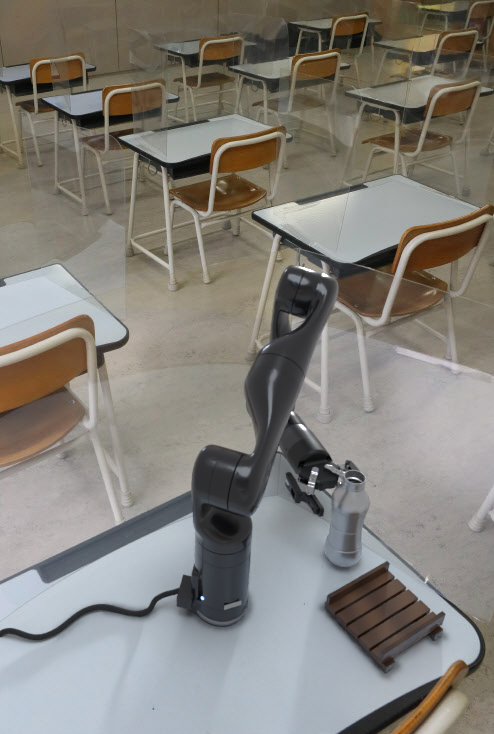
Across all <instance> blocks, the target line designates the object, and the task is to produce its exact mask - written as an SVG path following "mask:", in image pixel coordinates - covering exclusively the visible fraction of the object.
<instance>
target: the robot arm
mask: <svg viewBox="0 0 494 734" xmlns="http://www.w3.org/2000/svg"><path fill="white" fill-rule="evenodd" d="M279 277H280V278H279V279H278V283H277V285H276V288H275V292H274V297H273V302H272V303H273V304H272V311H271V319H270V329H269V330H270V331H269V342H268V343H267V344H265V345H264V346H263V347H261V349H259V351H258V352H257V353H256V355H255V357H254V359H253V360H252V363H251V365H250V367H249V370H248V372H247V374H246V376H245V379H244V382H243V394H244V395H243V396H244V399H245V408H246V412H247V414H248V416H249V417H250V420H251V422H252V426H253V432H254V439H255V445H254V449H253V451H252V452H251V453H245V452H242V451H239V450H236V449H232V448H229V447H225V446H222V445H218V444H212V443H211V444H208V445H207V444H206V445H205V446H204V447H202V449H200V451H199V453H198V454H197V456H196V458H195V461H194V463H193V467H192V471H191V483H190V487H191V488H190V489H191V492H190V493H191V494H190V495H191V509H192V525H193V530H194V562H193V567H192V569H191V574H190V575H187V574H182V577H181V581H180V585H179V587H177V588H173V589H169V590H166V591H163V592H161V593H159V594H157V595H156V596H154V597H152V599H151V601H150V602H149V605H148V607H147V608H144V609H140V610H133V609H127V608H123V607H120V606H117V605H114V604H109V603H108V604H107V603H95V604H91V605H88V606H85V607H83V608H81V609H80V610H78V611H76V612H75V613H73V614H72V615H70V617H68V618H67V619H66V620H65V621H63V622H62V623H61V624H59V625H58V626H56V627H55V628H53V629H51V630H49V631H46V632H43V633H30V632H27V631H24V630H21V629H18V628H16V627H15V628H14V627H5V628H2V629H1V630H0V638H1V637H3V636H6V635H14V636H17V637H19V638H22V639H25V640H28V641H38V642H39V641H43V640H48V639H49V638H53V637H55V636H56V635H58V634H60V633H61V632H63V631H64V630H66V629H67V628H68V627H69V626H70V625H72V624H73V623H74V622H76V620H78V619H79V618H81V617H82V616H84V615H86V614H88V613H91V612H94V611H110V612H113V613H117V614H120V615H124V616H129V617H143V616H146V615H149V614H151V613H152V612H153V611H154V609H155V607H156V605H157V603H158V602H160V601H161V600H163V599H166V598H168V597H173V596H176V607H177V608H180V609H185V610H190V612H191V613H195V614H197V615H198V616H199V617H200V619H202V620H203V621H205V622H206V623H208V624H210V625H213V626H219V627H226V626H231V625H235V624H237V623H238V622H239V621H241V620H242V619H243V618H244V617H245V615H246V613H247V610H248V606H249V586H250V585H249V584H250V571H251V557H252V556H251V555H252V542H253V530H254V529H253V528H254V526H253V520H252V516H253V515H254V514H255V513H256V512H257V511H258V509H259V507H260V506H261V503H262V500H263V498H264V495H265V492H266V490H267V486H268V483H269V480H270V476H271V474H272V471H273V466H274V463H275V459H276V456H277V453H278V450H279V448H280V450H281V453H282V455H283V457H284V459H285V460H286V461H287V463H288V464H289V465H290V468H291V469H292V470H293V471H294V473H295V474H293V473H292V471H291V472H290V471H287V472H285V477H284V478H285V479H284V485H285V487H286V488H287V491H288V492H289V494H290V497H291V498H292V500H293V502H294V503H295V504H298V505H299V504H301V503H305V504H306V505H307V506H308V507H309V509H310V510H311V512H312V513H313V514H314V515H315V516H317V517H318V518H322V517H324V514H325V509H324V506H323V504H322V503H321V501H320V499H319V498H318V497H317V495H316V494H315V491H319V492H323V491H325V490H332V489H335V488H336V487H338V486H339V485H341V484H342V479H343V477H344V473H345V472H346V471H348V470H357V471H360V472H362V471H361V470H360V469H359V468H358V466H357V465H356V464H355V463H354V462H353V461H352V460H351V459H345V461H344V463H342V464H337V463H336V462H335V461H334V460H333V458H332V457H331V456H332V455H330V453H329V451H328V450H327V449H326V448H325V446H324V444H323V443H322V442H321V441H320V439H319V438H318V437H317V436H316V434H315V433H314V432H313V431H312V430H311V429H310V427H308V425H307V424H306V423H305V422H304V420H303V419H302V417H301V416H300V415H299V414H298V413H297V412H295V409H296V403H297V400H298V398H299V395H300V392H301V390H302V387H303V385H304V382H305V380H306V376H307V374H308V370H309V368H310V364H311V361H312V358H313V355H314V352H315V350H316V347H317V345H318V342H319V340H320V338H321V336H322V334H323V331H324V329H325V327H326V325H327V323H328V320H329V318H330V317H331V314H332V312H333V309H334V307H335V305H336V302H337V299H338V295H339V289H340V287H339V282H338V280H337V279H336V278H334V277H333V276H330V275H328V274H325V273H322V272H319V271H316V270H314V269H310V268H307V267H304V266H299V265H296V264H290V265H287V267H285V269H284V270H283V272H282V273H281V275H280V276H279ZM290 316H292V317H295V318H296V317H297V318H299V319H302V320H303V322H302V323H301V324H300V325H299V326H297V327H296V328H294V329H292V327H291V322H290ZM339 479H340V481H341V482H339ZM299 483H301V484H303V485H304V486H306V490H305V491H303V490H302V489H301V487H300V485H299Z"/></svg>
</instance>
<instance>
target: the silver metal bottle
mask: <svg viewBox="0 0 494 734" xmlns="http://www.w3.org/2000/svg"><path fill="white" fill-rule="evenodd" d="M360 471H361V470H360ZM360 471H357V470H348V471H346V472H345V473H344V477H343V479H342V484H341V485H339V486H338V487H336V488H334V490H333V491H332V494H331V498H330V499H331V501H330V504H331V522H330V526H329V530H328V533H327V536H326V538H325V541H324V552H325V553H324V554H325V556H326V558H327V559H328V561H329V562H330V563H332V564H333V565H335V566H337V567H340V568H349V567H352V566H355V565H356V564H358V562H359V561H360V559H361V557H362V554H363V543H362V536H363V534H362V533H363V528H364V524H365V519H366V517H367V515H368V512H369V509H370V507H371V500H370V495H369V494H368V492H367V490H366V485H367V484H366V483H367V477H366V475H365V474H364V473H363V472H362V471H361V472H360Z"/></svg>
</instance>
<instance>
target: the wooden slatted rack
mask: <svg viewBox="0 0 494 734" xmlns="http://www.w3.org/2000/svg"><path fill="white" fill-rule="evenodd" d="M390 566H391V564H390V562H389V561H388V560H386V561H384V562H382V563H381V564H379V565H377V566H375V567H374V568H371V569H370V570H369V571H366V572H365V573H363V574H362V575H360V576H358V577H356V578H354V579H353V580H351V581H349V582H348V583H345V584H344V585H343V586H341V587H338V588H337V589H335V590H333V591H332V592H330V593H328V594H327V595H326V599H325V601H324V606H323V608H324V609H325V610H326V611H327V613H328V614H330V616H331V617H332V618H333V619H334V620H335V621H336V622H337V623H338V624H339V625H340V627H342V629H343V630H344V631H345V632H347V635H349V636H350V637H351V638H352V639H353V640H354V642H355V643H356V644H357V645H358V646H359V647H360V648H361V649H362V650H363V651H364V652H365V653H366V654H367V656H368V657H369V658H370V659H371V660H372V661H373V662H374V663H375V664H376V665H377V666H378V667H379V669H381V670H382V671H383V673H385V674H386V673H387V672H389V671H391V670H392V669H393V668H395V665H396V660H395V659H394V657H395V656H397V655H398V654H400V653H402V652H403V651H405V650H406V649H408V648H410V647H411V646H412V645H414V644H416V643H417V642H419V641H420V640H421V639H423V638H424V637H426V636H428V637H429V638H430V639H431V640H432V641H435V640H438V638H440V637H442V635H443V632H444V628H442V626H443V624H444V621H445V618H446V613H445V611H443V610H442V611H440V612H438V613H437V614H436V613H435V612H434V611H433V610H432V611H431V608H430V607H429V606H428V605H427V604H426V603H425V602H423V600H421V599H419V597H418V596H417V595H416V594H415V593H414V592H413V591H412V590H410V589H409V588H408V589H407V586H406V585H405V584H404V583H403V582H401V581H400V579H398V578H396V576H395V575H394V574H393V573H392V572H391V571H390V570H389V569H390Z"/></svg>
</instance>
